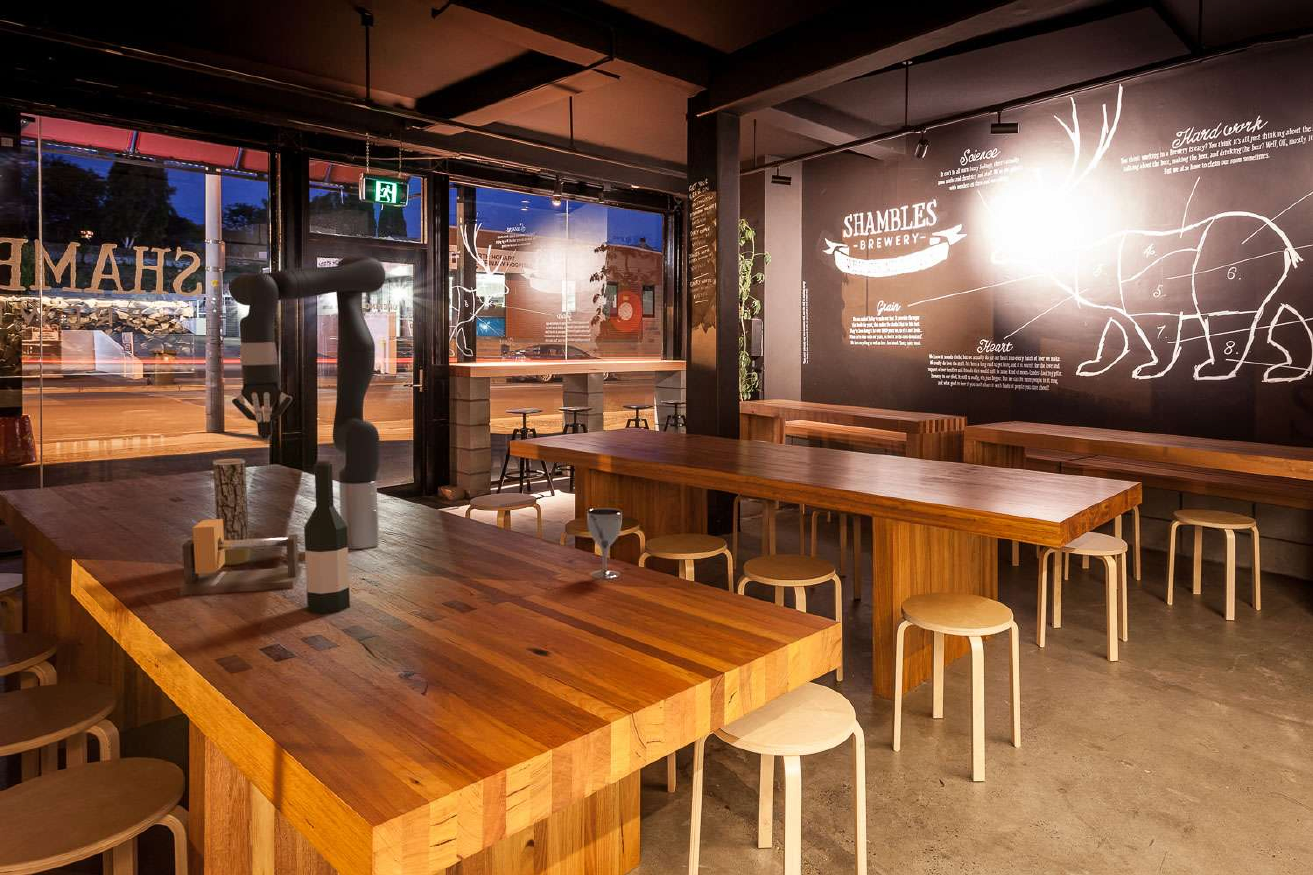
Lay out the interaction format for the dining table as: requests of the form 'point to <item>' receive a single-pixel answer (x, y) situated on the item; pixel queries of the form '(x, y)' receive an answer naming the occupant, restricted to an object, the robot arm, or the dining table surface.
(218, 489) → the bark log section
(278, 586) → the pipe stand
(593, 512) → the wine glass
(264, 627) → the dining table surface
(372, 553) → the dining table surface
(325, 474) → the wine bottle
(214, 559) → the collar
